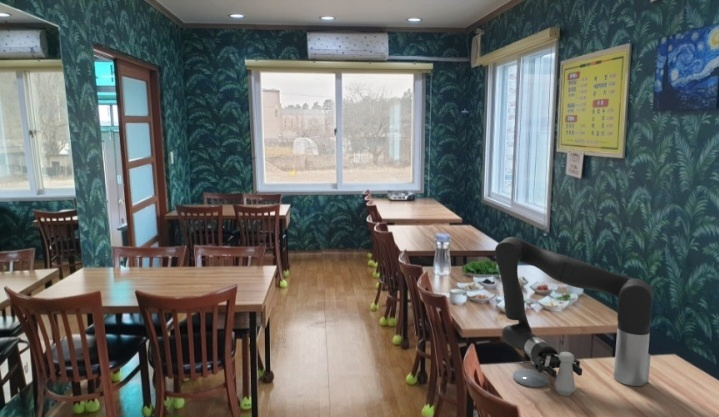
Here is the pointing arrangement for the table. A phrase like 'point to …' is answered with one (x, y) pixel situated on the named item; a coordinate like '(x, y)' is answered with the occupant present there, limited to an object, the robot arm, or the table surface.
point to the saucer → (530, 378)
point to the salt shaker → (565, 375)
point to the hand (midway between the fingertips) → (568, 373)
